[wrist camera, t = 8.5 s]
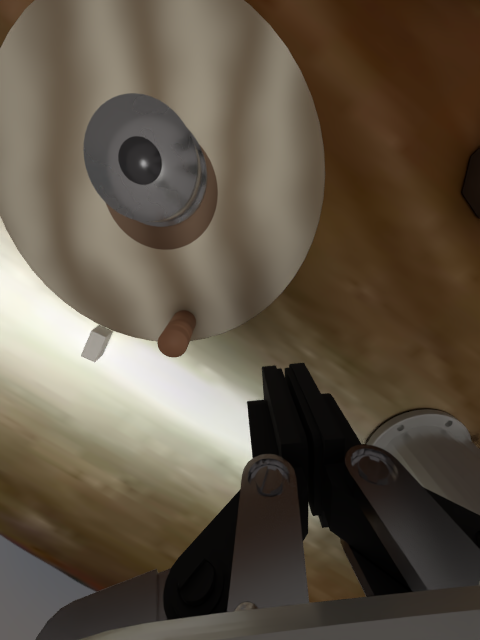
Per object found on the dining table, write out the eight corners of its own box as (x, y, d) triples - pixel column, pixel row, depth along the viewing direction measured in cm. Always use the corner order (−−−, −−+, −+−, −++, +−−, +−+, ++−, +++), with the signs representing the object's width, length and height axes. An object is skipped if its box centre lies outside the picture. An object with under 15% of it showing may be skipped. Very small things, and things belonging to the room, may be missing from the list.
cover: (207, 118, 19) (200, 88, 15) (207, 228, 21) (202, 228, 17) (101, 112, 19) (65, 80, 15) (114, 224, 21) (86, 224, 17)
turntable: (319, -39, 18) (366, -184, 11) (318, 321, 26) (345, 350, 20) (-62, 2, 18) (-219, -119, 12) (62, 348, 26) (10, 384, 20)
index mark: (99, 325, 26) (91, 330, 24) (112, 331, 26) (106, 337, 24) (88, 349, 26) (80, 356, 25) (102, 355, 27) (94, 362, 25)
